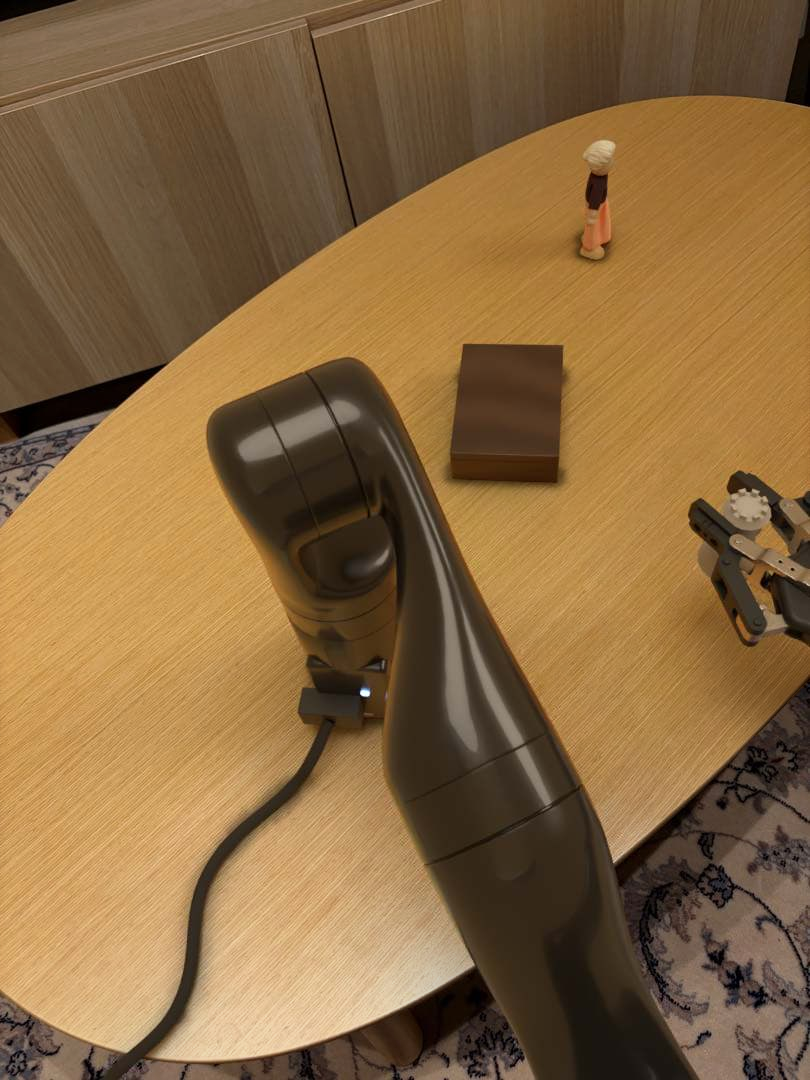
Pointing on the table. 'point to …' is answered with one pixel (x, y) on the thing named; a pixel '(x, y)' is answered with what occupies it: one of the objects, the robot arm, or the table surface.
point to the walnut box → (508, 413)
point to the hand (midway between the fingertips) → (713, 493)
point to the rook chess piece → (738, 523)
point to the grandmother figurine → (597, 199)
